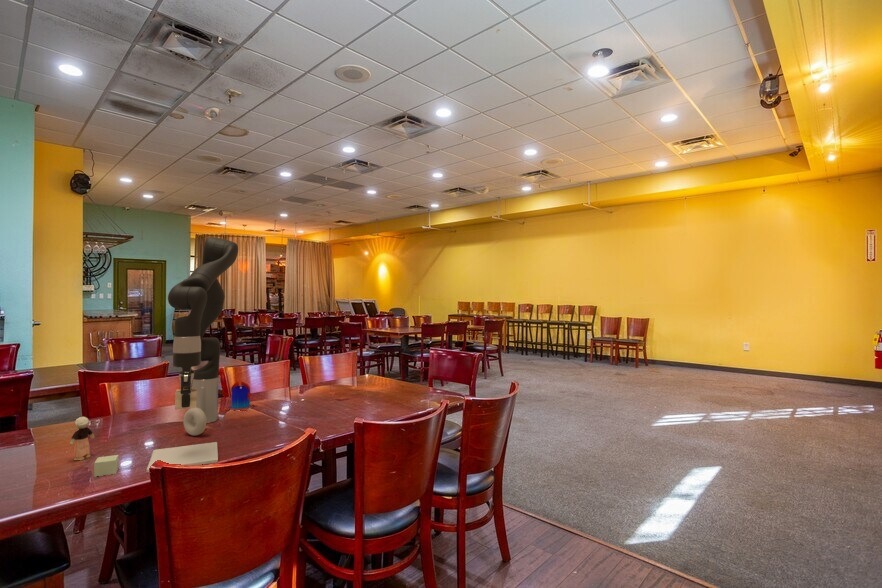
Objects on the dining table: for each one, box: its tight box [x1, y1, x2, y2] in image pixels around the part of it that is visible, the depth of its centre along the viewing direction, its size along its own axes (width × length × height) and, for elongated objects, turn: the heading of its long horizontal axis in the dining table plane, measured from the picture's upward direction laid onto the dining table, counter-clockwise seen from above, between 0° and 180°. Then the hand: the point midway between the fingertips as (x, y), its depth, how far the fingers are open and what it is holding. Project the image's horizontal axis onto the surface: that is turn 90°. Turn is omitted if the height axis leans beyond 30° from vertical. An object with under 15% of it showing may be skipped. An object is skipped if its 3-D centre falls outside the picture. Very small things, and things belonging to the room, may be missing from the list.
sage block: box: [93, 454, 120, 478], centre depth 124 cm, size 5×5×4 cm
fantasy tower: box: [222, 381, 258, 412], centre depth 197 cm, size 12×12×12 cm
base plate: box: [146, 441, 219, 473], centre depth 136 cm, size 18×18×1 cm
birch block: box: [174, 388, 197, 411], centre depth 137 cm, size 6×6×5 cm
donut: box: [182, 407, 208, 437], centre depth 158 cm, size 10×4×10 cm, turn 66°
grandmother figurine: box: [69, 416, 96, 461], centre depth 134 cm, size 8×4×13 cm, turn 5°
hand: (186, 404), depth 137 cm, fingers closed on birch block, 5 cm apart
